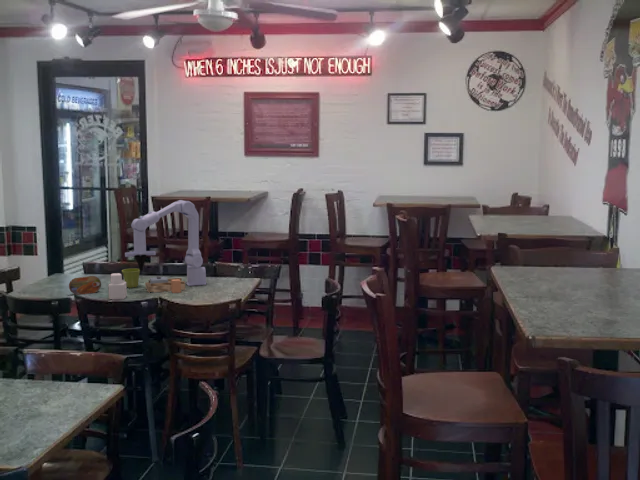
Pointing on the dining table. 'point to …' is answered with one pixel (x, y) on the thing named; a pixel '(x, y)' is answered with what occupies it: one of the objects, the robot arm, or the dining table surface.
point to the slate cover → (158, 280)
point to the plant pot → (131, 277)
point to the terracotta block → (176, 286)
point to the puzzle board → (162, 286)
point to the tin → (84, 285)
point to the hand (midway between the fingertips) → (141, 270)
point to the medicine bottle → (117, 286)
